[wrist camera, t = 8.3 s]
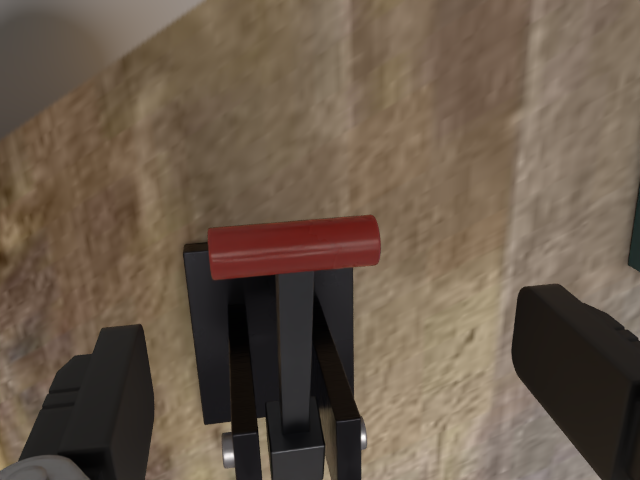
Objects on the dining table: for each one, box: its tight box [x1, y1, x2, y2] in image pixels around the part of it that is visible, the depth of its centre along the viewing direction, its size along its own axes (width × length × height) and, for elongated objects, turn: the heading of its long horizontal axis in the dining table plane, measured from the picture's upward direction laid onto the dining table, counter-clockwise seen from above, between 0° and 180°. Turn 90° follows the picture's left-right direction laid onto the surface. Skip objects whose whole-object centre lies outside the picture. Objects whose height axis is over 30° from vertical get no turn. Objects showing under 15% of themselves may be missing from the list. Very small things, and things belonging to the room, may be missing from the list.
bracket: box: [183, 243, 367, 480], centre depth 29 cm, size 11×9×12 cm
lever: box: [208, 215, 381, 480], centre depth 21 cm, size 13×5×2 cm, turn 2°
